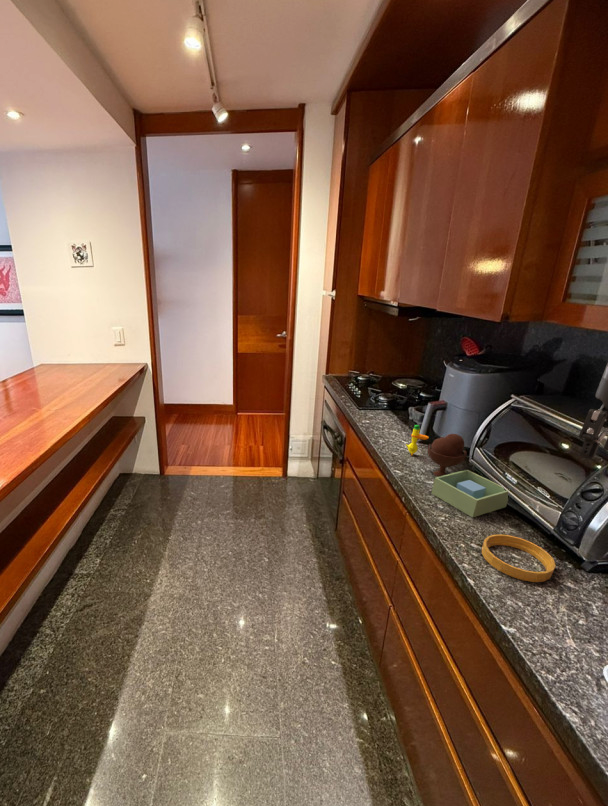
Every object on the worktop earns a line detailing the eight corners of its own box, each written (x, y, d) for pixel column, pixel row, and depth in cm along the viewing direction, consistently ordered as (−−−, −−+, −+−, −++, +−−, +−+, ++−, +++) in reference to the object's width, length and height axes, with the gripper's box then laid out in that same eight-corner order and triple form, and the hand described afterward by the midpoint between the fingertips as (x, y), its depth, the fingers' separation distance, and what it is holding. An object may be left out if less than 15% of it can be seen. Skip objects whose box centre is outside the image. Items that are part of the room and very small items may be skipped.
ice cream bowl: (446, 467, 130) (456, 426, 125) (467, 484, 120) (479, 440, 114) (415, 468, 130) (424, 427, 124) (434, 485, 120) (445, 441, 114)
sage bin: (462, 486, 119) (467, 469, 117) (505, 509, 107) (511, 490, 105) (430, 495, 114) (434, 477, 112) (471, 519, 103) (477, 500, 101)
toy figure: (424, 457, 138) (431, 426, 133) (423, 461, 135) (429, 429, 130) (404, 453, 141) (410, 422, 137) (402, 456, 138) (408, 425, 134)
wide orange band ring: (505, 539, 95) (508, 529, 94) (564, 574, 84) (569, 563, 83) (467, 552, 91) (471, 542, 90) (525, 591, 80) (529, 580, 79)
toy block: (465, 494, 114) (469, 479, 112) (481, 503, 109) (486, 487, 108) (453, 498, 112) (457, 483, 110) (469, 507, 108) (473, 491, 106)
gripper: (633, 386, 68) (599, 468, 74) (675, 378, 73) (641, 456, 79) (583, 377, 75) (556, 452, 81) (625, 370, 80) (597, 442, 86)
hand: (598, 454), depth 80 cm, fingers open, 8 cm apart
